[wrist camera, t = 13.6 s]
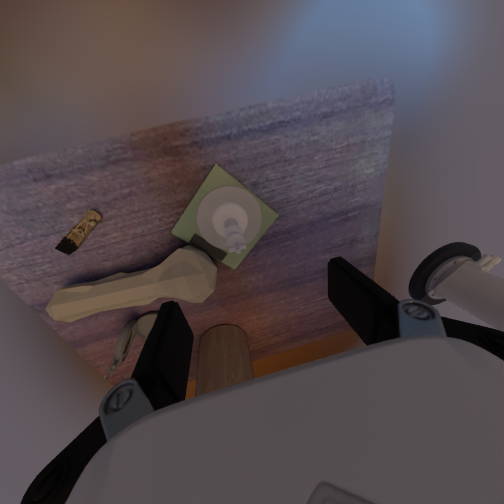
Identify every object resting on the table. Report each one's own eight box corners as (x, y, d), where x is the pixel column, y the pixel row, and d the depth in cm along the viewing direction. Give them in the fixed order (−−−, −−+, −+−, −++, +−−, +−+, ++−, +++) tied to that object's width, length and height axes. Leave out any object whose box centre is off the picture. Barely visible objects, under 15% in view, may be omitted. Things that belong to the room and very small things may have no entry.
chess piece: (207, 207, 24) (203, 233, 16) (243, 198, 25) (259, 219, 16) (217, 241, 27) (219, 280, 18) (250, 232, 27) (268, 267, 18)
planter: (209, 362, 42) (204, 548, 22) (191, 333, 37) (164, 535, 17) (251, 348, 42) (285, 517, 22) (239, 317, 38) (268, 495, 18)
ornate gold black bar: (72, 254, 27) (68, 257, 26) (57, 246, 26) (53, 249, 25) (105, 216, 25) (102, 218, 25) (90, 206, 24) (86, 207, 24)
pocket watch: (180, 330, 36) (170, 385, 28) (137, 343, 36) (112, 403, 27) (163, 299, 33) (143, 350, 24) (114, 313, 32) (76, 370, 23)
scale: (215, 163, 25) (215, 163, 22) (274, 211, 29) (280, 216, 27) (173, 227, 28) (169, 234, 25) (233, 262, 32) (235, 271, 29)
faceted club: (227, 283, 32) (83, 318, 32) (213, 235, 31) (62, 272, 30) (223, 307, 24) (26, 357, 23) (204, 243, 22) (-9, 294, 21)
